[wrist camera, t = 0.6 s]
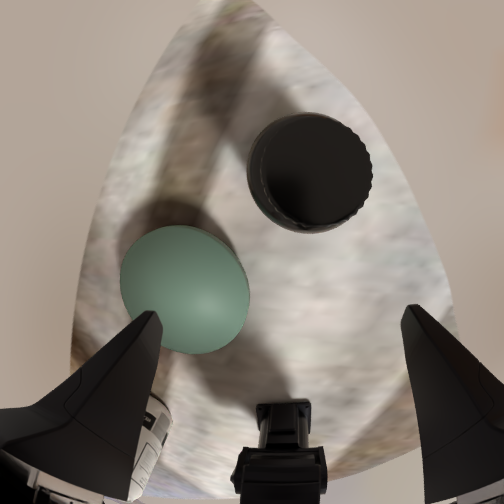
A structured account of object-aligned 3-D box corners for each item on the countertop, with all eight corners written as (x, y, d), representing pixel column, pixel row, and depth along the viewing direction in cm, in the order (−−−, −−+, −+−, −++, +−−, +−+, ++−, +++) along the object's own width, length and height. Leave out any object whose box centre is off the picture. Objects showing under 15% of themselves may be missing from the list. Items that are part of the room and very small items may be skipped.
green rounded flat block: (258, 336, 26) (255, 354, 23) (150, 336, 28) (139, 350, 25) (243, 214, 23) (238, 219, 20) (124, 229, 25) (107, 235, 22)
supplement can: (153, 431, 33) (118, 503, 19) (113, 397, 32) (65, 466, 18) (186, 419, 31) (151, 506, 17) (141, 381, 30) (86, 465, 16)
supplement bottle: (241, 180, 23) (200, 184, 11) (291, 118, 21) (298, 60, 9) (306, 230, 23) (328, 282, 12) (355, 169, 21) (422, 164, 10)
